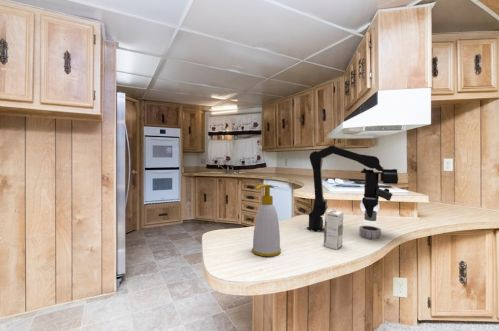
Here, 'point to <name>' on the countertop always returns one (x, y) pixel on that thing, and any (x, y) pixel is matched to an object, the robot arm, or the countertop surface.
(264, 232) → the soap bottle
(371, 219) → the cap
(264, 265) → the countertop surface
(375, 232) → the grey ribbed ring
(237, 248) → the countertop surface
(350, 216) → the countertop surface
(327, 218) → the syrup box
